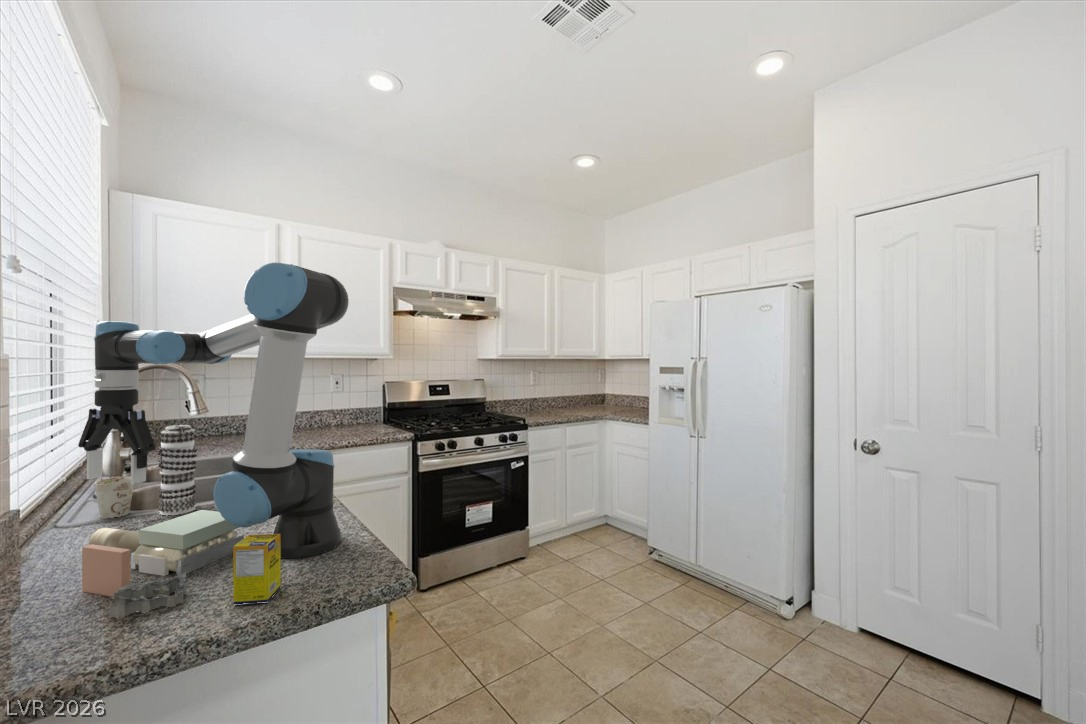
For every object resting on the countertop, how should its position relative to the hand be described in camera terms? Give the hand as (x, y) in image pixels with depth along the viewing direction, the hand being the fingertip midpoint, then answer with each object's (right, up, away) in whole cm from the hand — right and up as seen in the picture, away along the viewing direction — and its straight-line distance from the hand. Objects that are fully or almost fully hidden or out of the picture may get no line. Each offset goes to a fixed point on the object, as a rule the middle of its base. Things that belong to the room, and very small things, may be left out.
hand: (116, 480), depth 109 cm
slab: (+20, -12, -3) cm, 23 cm away
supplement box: (+45, -17, -21) cm, 53 cm away
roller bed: (+20, -17, -4) cm, 26 cm away
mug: (-24, -16, +26) cm, 39 cm away
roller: (0, -17, 0) cm, 17 cm away
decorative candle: (-8, -17, +29) cm, 34 cm away
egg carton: (+27, -17, -23) cm, 40 cm away
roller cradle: (+17, -17, -15) cm, 28 cm away
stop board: (+16, -17, -19) cm, 30 cm away
